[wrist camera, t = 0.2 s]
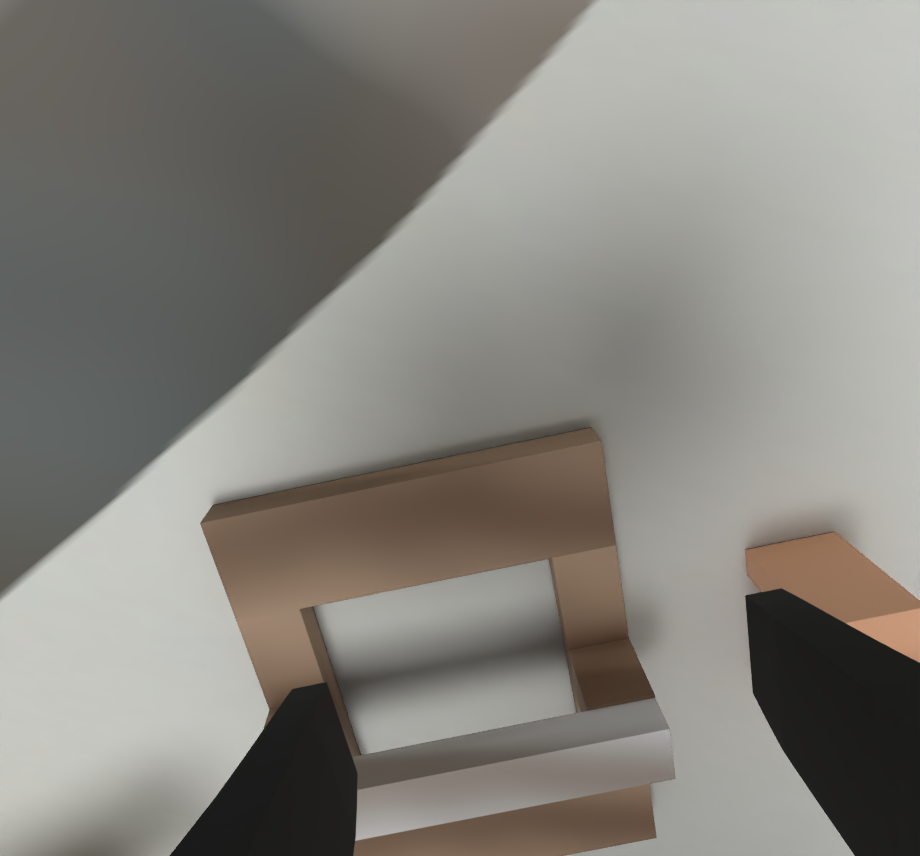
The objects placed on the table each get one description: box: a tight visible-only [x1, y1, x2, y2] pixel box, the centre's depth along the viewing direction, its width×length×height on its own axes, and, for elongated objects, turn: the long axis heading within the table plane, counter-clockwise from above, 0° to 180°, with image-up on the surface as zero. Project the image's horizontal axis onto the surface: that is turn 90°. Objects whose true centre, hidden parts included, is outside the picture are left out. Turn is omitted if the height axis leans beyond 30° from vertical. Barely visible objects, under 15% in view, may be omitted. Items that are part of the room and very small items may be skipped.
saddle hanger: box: [746, 532, 920, 662], centre depth 20 cm, size 5×3×6 cm, turn 12°
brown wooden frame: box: [200, 428, 675, 856], centre depth 21 cm, size 16×12×5 cm
